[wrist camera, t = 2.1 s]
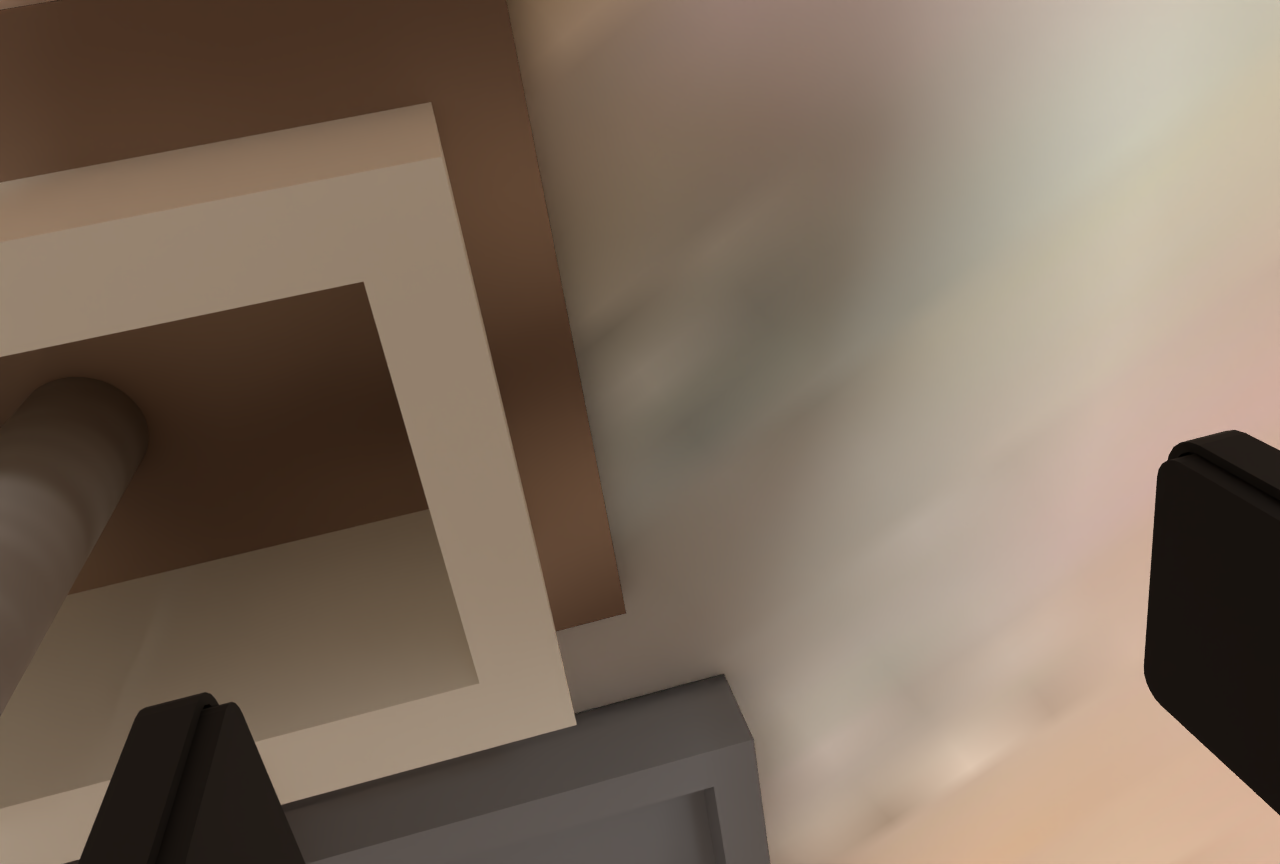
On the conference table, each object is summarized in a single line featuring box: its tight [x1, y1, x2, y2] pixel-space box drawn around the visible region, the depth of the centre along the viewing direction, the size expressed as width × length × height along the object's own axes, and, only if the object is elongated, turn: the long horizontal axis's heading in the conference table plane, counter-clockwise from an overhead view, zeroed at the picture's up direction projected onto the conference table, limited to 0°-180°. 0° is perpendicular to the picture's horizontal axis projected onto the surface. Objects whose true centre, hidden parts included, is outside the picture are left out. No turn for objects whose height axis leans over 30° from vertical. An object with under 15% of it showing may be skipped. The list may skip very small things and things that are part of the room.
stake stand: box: [0, 0, 626, 716], centre depth 14 cm, size 13×17×8 cm
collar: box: [0, 102, 577, 864], centre depth 14 cm, size 8×14×6 cm, turn 99°
